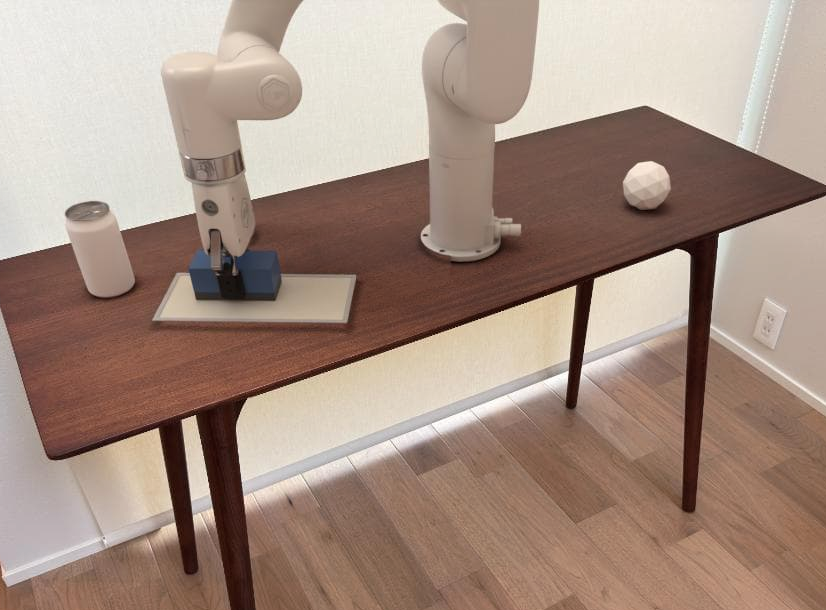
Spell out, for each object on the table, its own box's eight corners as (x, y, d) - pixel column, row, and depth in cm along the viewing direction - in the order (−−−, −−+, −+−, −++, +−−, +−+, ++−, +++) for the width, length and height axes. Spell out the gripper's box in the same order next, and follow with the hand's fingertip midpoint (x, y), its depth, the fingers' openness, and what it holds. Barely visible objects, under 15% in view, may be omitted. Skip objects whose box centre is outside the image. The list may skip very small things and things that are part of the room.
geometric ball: (644, 227, 133) (646, 205, 126) (613, 196, 136) (613, 172, 128) (678, 198, 133) (682, 174, 126) (646, 168, 136) (648, 142, 128)
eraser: (281, 281, 112) (277, 250, 108) (275, 300, 108) (270, 269, 105) (204, 280, 112) (197, 249, 108) (195, 299, 108) (188, 268, 105)
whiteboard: (357, 282, 114) (356, 274, 113) (347, 330, 105) (347, 322, 104) (178, 280, 114) (176, 272, 113) (154, 328, 105) (151, 320, 104)
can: (144, 286, 113) (121, 209, 105) (103, 304, 109) (76, 226, 101) (120, 270, 116) (97, 194, 108) (79, 287, 112) (52, 210, 104)
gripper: (227, 192, 91) (253, 321, 103) (256, 134, 104) (276, 255, 116) (163, 191, 91) (195, 320, 103) (200, 134, 104) (225, 254, 116)
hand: (238, 284), depth 109 cm, fingers closed on eraser, 5 cm apart
